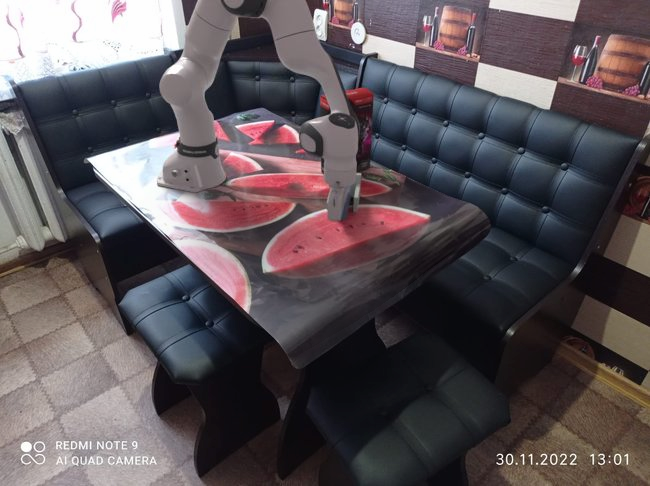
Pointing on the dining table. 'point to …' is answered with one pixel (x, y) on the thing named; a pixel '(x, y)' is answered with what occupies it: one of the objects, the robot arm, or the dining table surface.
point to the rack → (354, 192)
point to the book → (346, 206)
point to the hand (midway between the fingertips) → (338, 216)
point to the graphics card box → (364, 112)
